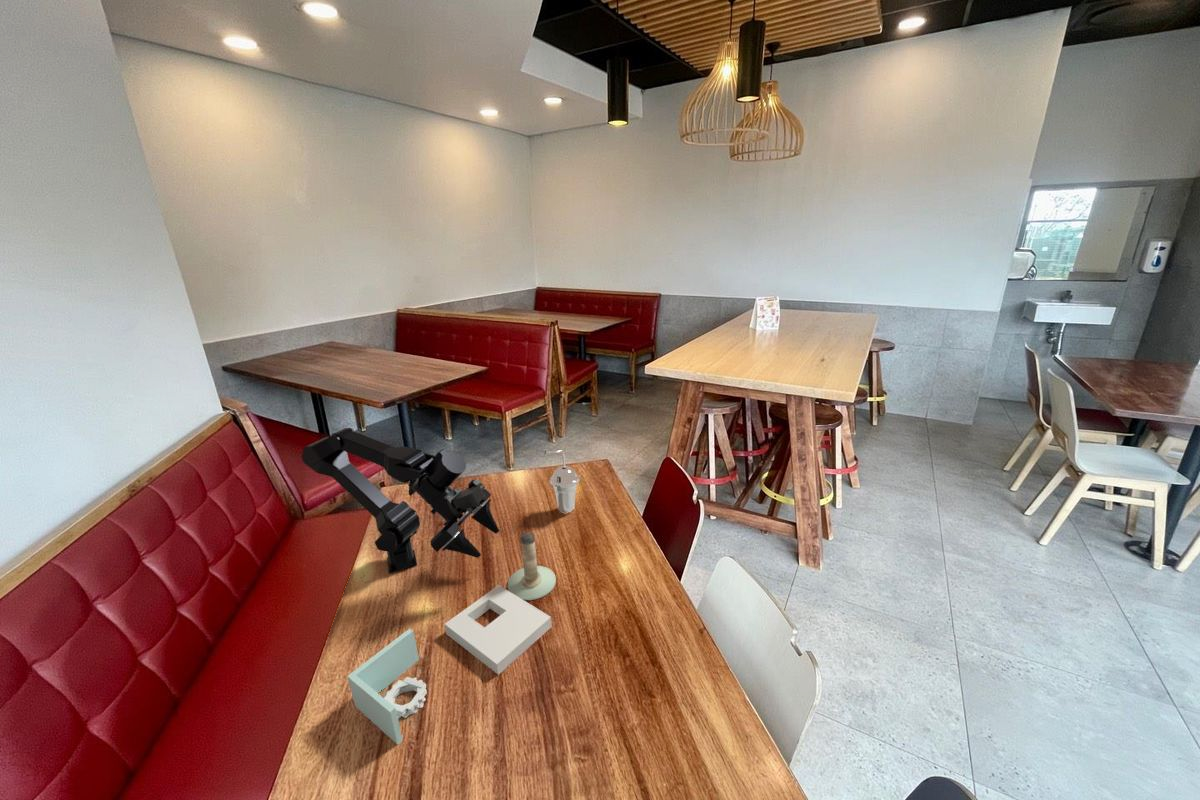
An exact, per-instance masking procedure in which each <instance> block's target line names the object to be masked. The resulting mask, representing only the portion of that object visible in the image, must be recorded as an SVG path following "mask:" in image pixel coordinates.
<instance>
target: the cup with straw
mask: <svg viewBox="0 0 1200 800" xmlns="http://www.w3.org/2000/svg"><path fill="white" fill-rule="evenodd" d="M544 454H561V462H562V466H559V467H558V468H556V469H555V470H554V472H553V474H552V475H551V476H550V478H549V483H550V485H551V486H553V487H552V488H553V491H554V494H555V499H556V504H557V508H558V511H559V510H560V511H561V512H564V513H568V512H571V511H572V510H573V509H574V510H575V503H576V492H577V491H576V490H577V486H578V483H579V482H580V476H579V475H578V473H576V470H574V469H573V468H572V467H571V466H567V465H566V458H565V457H566V455H565V451H564V450H562V449H561V450H544Z"/></svg>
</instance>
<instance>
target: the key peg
mask: <svg viewBox="0 0 1200 800" xmlns="http://www.w3.org/2000/svg"><path fill="white" fill-rule="evenodd" d="M535 541H536V536H535V534H534V533H532V532H524V533H523V534H521V535H520V544H521V554H522V562H523V565H522V566H523V568H524V575H523V576H522V584H523V586H525V587H527V588H533V587H536V586H538V585H539V584H540V583H541V575H540V573H538V571H537V566H538V562H537V552H536V542H535Z"/></svg>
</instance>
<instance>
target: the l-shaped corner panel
mask: <svg viewBox="0 0 1200 800" xmlns="http://www.w3.org/2000/svg"><path fill="white" fill-rule="evenodd" d="M415 637H416V636H415V632H414V630H413V629H412V628H408V629H407V630H406V631H404V632H403V633H402V634H400V635H399V636H398V637H396V638H395V639H394V640H393V641H391V642H390V643H389V644H387V645H386V646H384V647H383V648H382V649H381V650H379V651H378V652H377V653H376V654H374V655H373V656H372V657H371V658H369V659H368V660H366V661H365V662H364V663H362V664H361V665H360V666H359V667H358V668H356V669H354V670H353V671H352V672H350V674H348V675H347V676H346V677H347V681H348V684H349V688H350V693H351V696H352V700H353V702H354V703H353V704H354V707H355V708H356V707H357V708H358V709H359V710H360V711H361V712H363V713H364V714H365V715H366V716H367V717H368V718H369V719H370V720H371V721H370V720H369V719H368V718H367V717H366V716H365V715H364V714H363V713H362V714H363V715H364V716H365V717H366V718H367V719H368V720H369V721H370V722H372V723H373V724H374V725H375V724H376V725H377V726H378V727H379V728H380V729H379V728H378V727H377V726H376V725H375V726H376V727H377V728H378V729H379V730H381V732H383V733H384V734H385V735H386V736H387V737H388V738H390V740H391V741H393V742H394V743H395V744H396V745H397V746H399V745H400V743H402V742H403V741H404V740H403V735H402V731H401V726H400V722H399V721H400V720H399V719H401V718H402V717H403V718H404V719H407V718H408V717H409V716H410V715H414V714H417V713H418V709H421V708H423V707H424V705H425V704H424V702H425V701H427V700H426V697H425V696H426V695H427V694H428V691H427V689H426V688H427V684H426V683H425V682H423V679H419V680H417V677H413V678H412V677H409V676H406V677H405V678H404V679H403V680H401V679H398V678H399V677H401V676H402V675H403V674H405V672H406V671H408V670H409V669H410V668H411V667H413V666H414V665H415V664H416V663H417V662H419V661H420V657H419V653H418V648H417V647H418V646H417V642H416V639H415ZM396 679H398V680H397V682H396V683H395V684H392V683H393V682H394V681H396ZM391 684H392V685H391ZM390 685H391V689H389V690H388V691H386V695H385V696H384V697H383V696H382V695H380V693H381V692H382V691H384V690H385V689H386V688H388V687H389V686H390ZM384 688H385V689H384ZM383 689H384V690H383ZM381 690H382V691H381ZM411 691H414V692H416V694H415V695H414V696H413V698H412V699H411V700H410V702H407V703H405V704H402V705H401V704H398V703H396V698H397V697H398V696H399V695H400V694H402V693H407V692H411ZM379 692H380V693H379ZM378 693H379V694H378ZM357 708H356V709H357ZM358 709H357V710H358ZM359 710H358V711H359ZM360 711H359V712H360ZM361 712H360V713H361ZM401 716H402V717H401Z"/></svg>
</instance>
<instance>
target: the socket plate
mask: <svg viewBox="0 0 1200 800" xmlns="http://www.w3.org/2000/svg"><path fill="white" fill-rule="evenodd" d="M489 610H491V611H493V612H494V613H496V614H497V615H499V616H497V617H496V618H495V619H494V620H492V621H491V622H490V623H489V624H487V625H486V626H485V627H484V626H483V625H482V624H481V623H479V622H478V621H476V620H477V619H479V618H480V617H481V616H482V615H483V614H486V613H487V611H489ZM552 627H553V626H552V616H550V615H549V614H548V613H545V612H544V611H542V610H540V609H539V608H537V607H536V606H534V605H532V604H530V603H529V602H527V600H522V599H521V598H519V597H518V596H516V595H514V594H513V593H511V592H509V590H508V589H506V588H504V587H503V586H501V585H500V584H497V586H495V587H494V588H493V589H491V590H490V591H488V592H487V593H486V594H485V595H483V596H481V597H480V598H479V599H477V600H476V601H475V602H473V603H472V604H470V605H468V606H467V607H466V608H464V609H463V610H461V612H459V613H458V614H457V615H455V616H453V617H452V618H451V619H449V620H448V621H447V622H445V623H444V628H445V633H446V635H447V636H448V637H450V638H451V639H452V640H453V641H455V642H456V643H457V644H459V645H460V646H461V647H463V649H465V650H466V651H467V652H469V653H470V654H471V655H472V656H474V657H475V658H476V659H478V660H479V661H480V662H482V663H483V664H484V665H485V666H486V667H488V668H489V669H491V670H492V671H493V673H495V674H497V675H498V676H499V675H500V674H501V673H502V672H504V671H505V669H507V668H508V667H509V666H510V665H511V664H512V663H513V662H514V661H516V660H517V659H518V658H519V657H520V656H521V655H522V654H523V653H525V652H526V651H527V650H528V649H529V648H530V647H531V646H532V645H533V644H534V643H536V642H537V641H538V640H539V639H540V638H541V637H542V636H543V635H545V633H546V632H548V631H549V630H550V629H551V628H552Z"/></svg>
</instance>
